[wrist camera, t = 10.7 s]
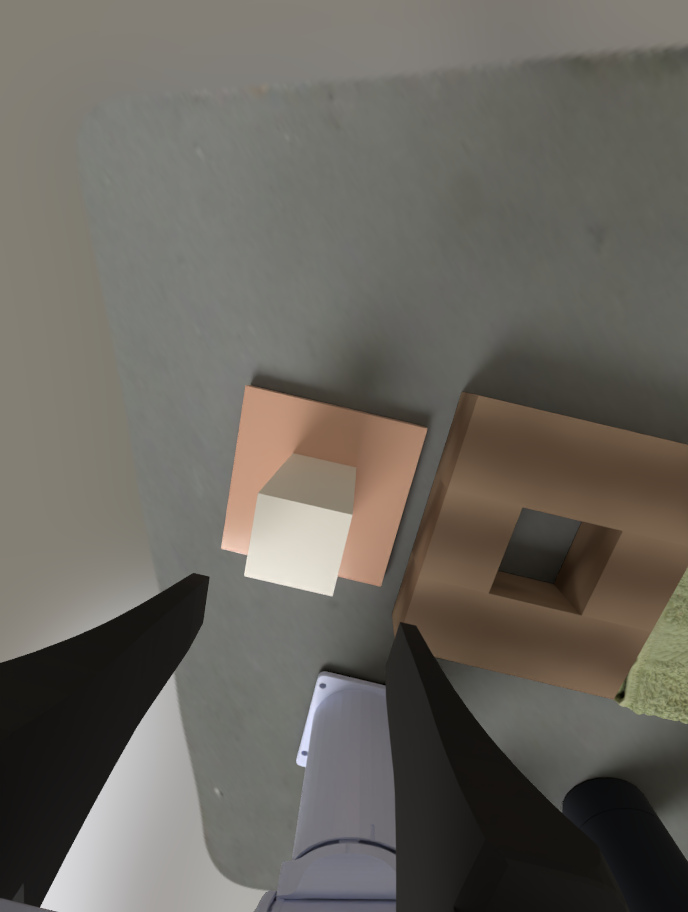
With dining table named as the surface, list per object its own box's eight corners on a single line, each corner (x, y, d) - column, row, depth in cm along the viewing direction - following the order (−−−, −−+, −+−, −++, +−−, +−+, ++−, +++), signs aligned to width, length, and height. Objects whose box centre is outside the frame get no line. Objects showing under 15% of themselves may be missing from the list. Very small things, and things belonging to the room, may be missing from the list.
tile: (380, 579, 23) (380, 586, 23) (225, 542, 23) (221, 548, 23) (425, 426, 21) (427, 428, 20) (250, 385, 21) (245, 385, 20)
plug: (342, 525, 22) (332, 596, 15) (281, 511, 22) (244, 575, 15) (356, 467, 21) (352, 515, 14) (292, 452, 21) (257, 493, 14)
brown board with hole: (583, 659, 24) (613, 699, 21) (391, 614, 24) (395, 647, 21) (692, 446, 20) (748, 459, 17) (461, 391, 20) (478, 395, 17)
